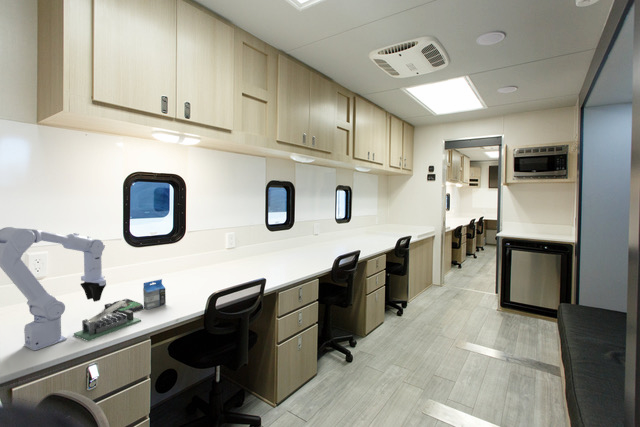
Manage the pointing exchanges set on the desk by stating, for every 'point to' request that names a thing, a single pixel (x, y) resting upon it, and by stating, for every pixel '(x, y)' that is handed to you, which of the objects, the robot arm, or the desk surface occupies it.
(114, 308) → the strap
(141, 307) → the disk drive
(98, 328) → the heat sink
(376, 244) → the desk surface
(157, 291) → the label tape box
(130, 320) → the board
